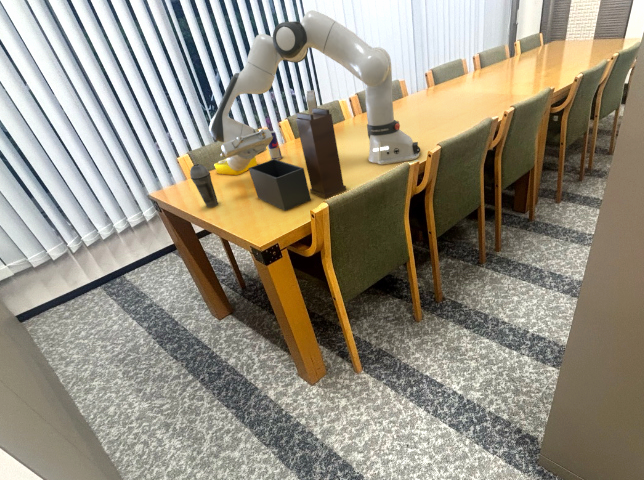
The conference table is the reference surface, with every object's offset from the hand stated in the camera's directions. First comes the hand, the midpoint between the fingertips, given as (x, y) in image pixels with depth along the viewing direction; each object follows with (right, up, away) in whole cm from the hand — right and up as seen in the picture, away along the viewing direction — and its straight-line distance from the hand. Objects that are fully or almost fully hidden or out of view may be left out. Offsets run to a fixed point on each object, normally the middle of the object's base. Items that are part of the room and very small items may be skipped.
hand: (251, 134), depth 144 cm
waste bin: (+10, -21, +6) cm, 25 cm away
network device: (+15, +37, +72) cm, 83 cm away
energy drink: (-2, +13, +49) cm, 51 cm away
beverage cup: (-19, -22, +12) cm, 32 cm away
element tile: (-20, +6, +44) cm, 49 cm away
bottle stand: (+28, -18, +7) cm, 34 cm away
